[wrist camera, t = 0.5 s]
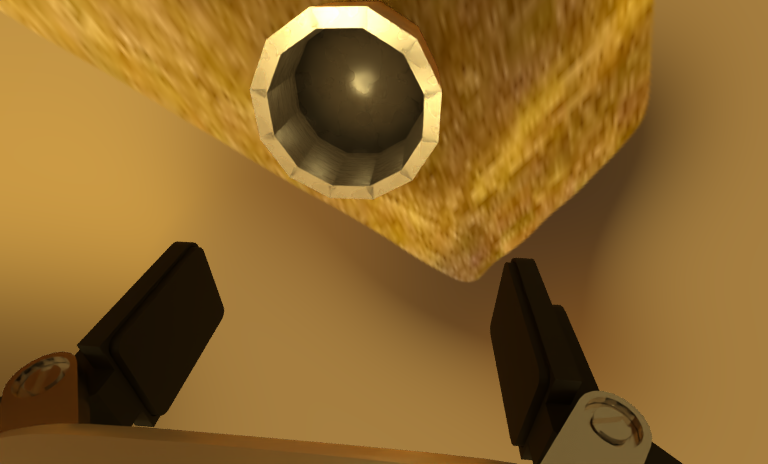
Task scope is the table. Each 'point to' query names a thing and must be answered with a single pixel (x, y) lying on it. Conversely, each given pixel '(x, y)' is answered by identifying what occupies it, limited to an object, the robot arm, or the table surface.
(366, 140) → the pot
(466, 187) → the table surface
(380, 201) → the table surface
